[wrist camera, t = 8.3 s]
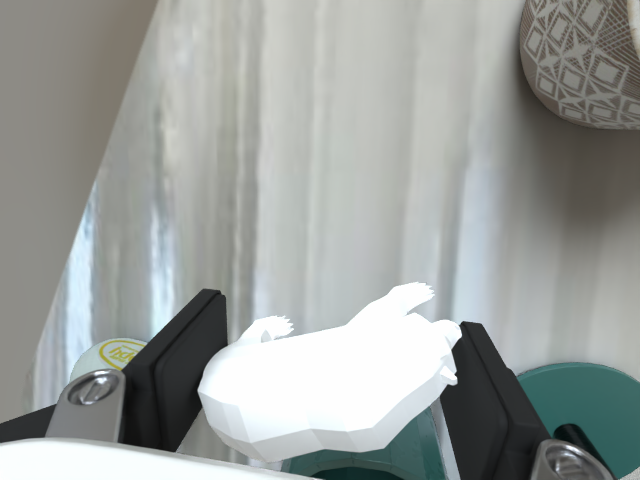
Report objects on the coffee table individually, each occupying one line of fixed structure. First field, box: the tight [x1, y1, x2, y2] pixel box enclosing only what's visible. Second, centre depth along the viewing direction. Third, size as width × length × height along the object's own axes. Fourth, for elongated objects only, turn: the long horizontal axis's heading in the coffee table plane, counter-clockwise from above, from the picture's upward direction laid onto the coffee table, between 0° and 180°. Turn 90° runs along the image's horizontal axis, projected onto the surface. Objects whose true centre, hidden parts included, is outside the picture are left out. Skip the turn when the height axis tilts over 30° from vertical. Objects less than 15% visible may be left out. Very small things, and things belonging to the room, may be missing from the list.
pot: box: [281, 406, 448, 480], centre depth 29 cm, size 14×19×10 cm
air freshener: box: [69, 338, 148, 383], centre depth 30 cm, size 11×8×10 cm
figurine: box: [197, 281, 462, 463], centre depth 10 cm, size 2×8×5 cm, turn 109°
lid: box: [516, 362, 640, 480], centre depth 27 cm, size 15×15×7 cm
